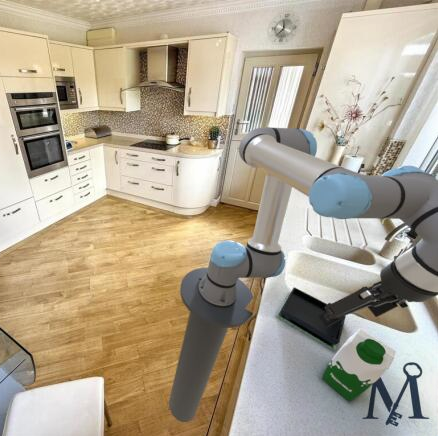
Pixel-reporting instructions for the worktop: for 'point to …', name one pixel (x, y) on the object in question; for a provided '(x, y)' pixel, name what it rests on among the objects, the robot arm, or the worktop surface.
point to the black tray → (310, 318)
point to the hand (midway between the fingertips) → (348, 316)
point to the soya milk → (358, 365)
